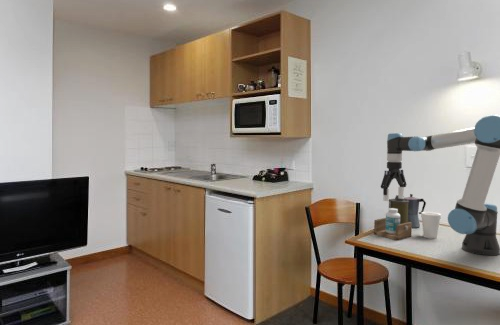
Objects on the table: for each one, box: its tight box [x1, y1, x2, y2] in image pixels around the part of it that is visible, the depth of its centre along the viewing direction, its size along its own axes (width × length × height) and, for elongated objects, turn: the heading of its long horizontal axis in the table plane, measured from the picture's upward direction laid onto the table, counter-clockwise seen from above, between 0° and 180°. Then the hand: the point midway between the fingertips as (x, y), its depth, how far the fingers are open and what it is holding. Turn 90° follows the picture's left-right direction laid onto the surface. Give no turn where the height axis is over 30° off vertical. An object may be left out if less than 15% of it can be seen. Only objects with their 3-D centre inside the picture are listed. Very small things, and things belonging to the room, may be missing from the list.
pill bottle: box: [385, 207, 400, 234], centre depth 188 cm, size 8×7×14 cm
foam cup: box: [420, 211, 442, 239], centre depth 185 cm, size 10×9×13 cm
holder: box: [373, 217, 413, 241], centre depth 188 cm, size 17×12×8 cm
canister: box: [388, 194, 409, 224], centre depth 202 cm, size 11×10×20 cm
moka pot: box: [403, 193, 427, 229], centre depth 207 cm, size 10×15×20 cm, turn 40°
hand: (393, 199), depth 187 cm, fingers open, 13 cm apart
